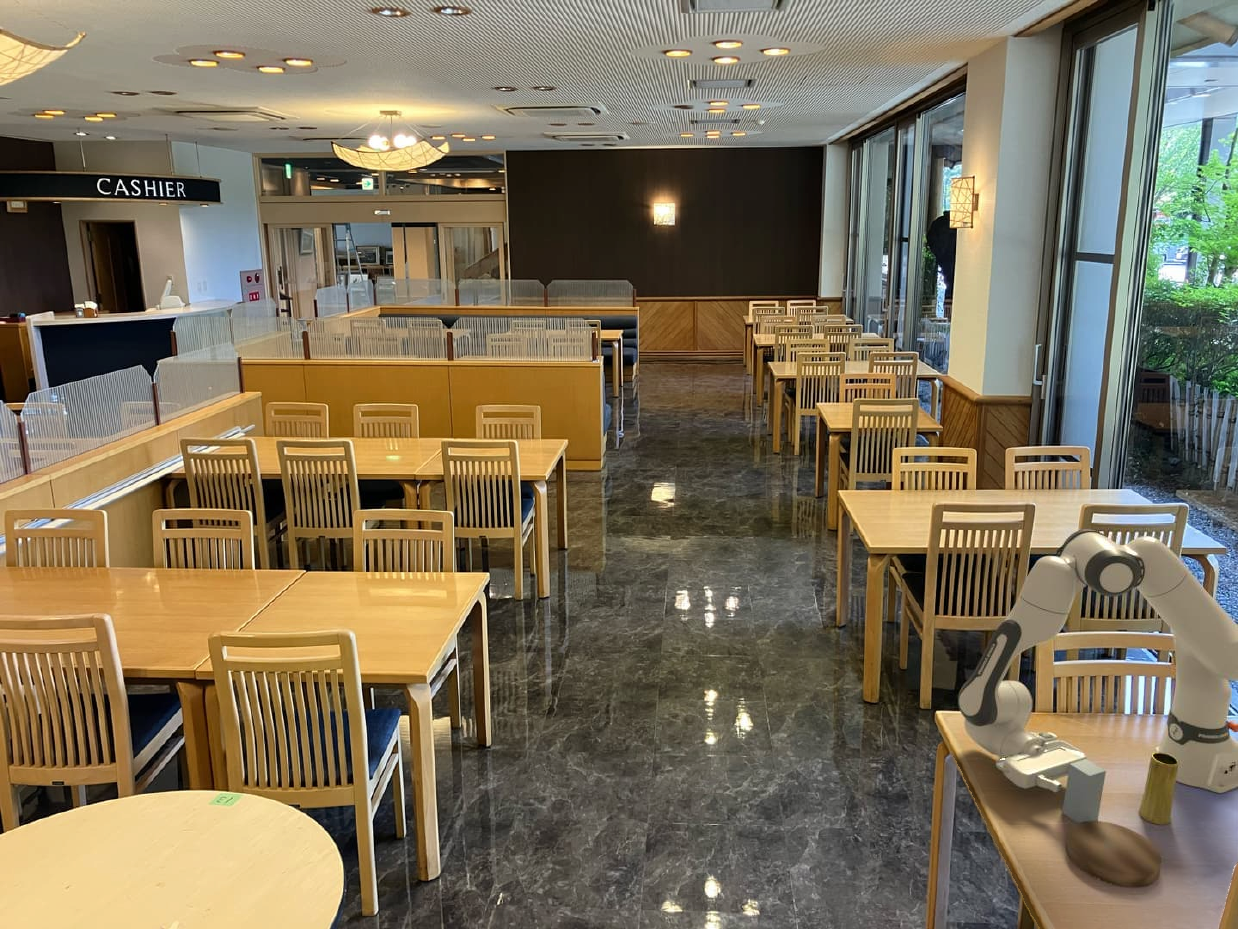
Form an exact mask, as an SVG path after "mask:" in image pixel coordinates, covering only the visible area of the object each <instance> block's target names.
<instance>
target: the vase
mask: <svg viewBox="0 0 1238 929" xmlns="http://www.w3.org/2000/svg"><path fill="white" fill-rule="evenodd" d="M1178 765H1179V761H1178V759H1177V758H1175V757H1174V756H1172V755H1170V754H1167V753H1162V752H1155V751H1154V752H1152V753H1151V756H1150V761H1149V766H1148V771H1147V776H1146V782H1145V786H1144V791H1143V795H1142V798H1141V799H1142V800H1141V804H1140V807H1139V810H1138V814H1139V815H1140V817H1141V818H1142V819H1144V820H1146V821H1147V822H1148V823H1149V822H1150V823H1152V824H1155V825H1162V826H1163V825H1168V824H1170V822H1171V816H1172V809H1173V802H1174V796H1175V795H1174V794H1175V786H1176V782H1177V781H1176V775H1177V770H1178Z"/></svg>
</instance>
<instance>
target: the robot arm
mask: <svg viewBox="0 0 1238 929" xmlns="http://www.w3.org/2000/svg"><path fill="white" fill-rule="evenodd" d="M1024 580H1025V581H1024V583H1023V584H1022V587H1021V590H1020V592H1019V595H1018V597H1017V599H1016V602H1015V604H1014V605H1013V608H1012V609H1011V610H1010V613H1009V614H1008V615H1007V617H1006V618H1004V621H1003V622H1001V624H1000V625H999V626H998V627H997V628H996V630H995V632H994V633H993V635H992V637H991V638H990V641H989V642H988V644H987V646H986V648H985V650H984V652H983V653H982V656H981V658H980V660H979V662H978V663H977V665H976V667H975V669H974V671H973V673H972V675H971V676H970V677H969V678H968V679H967V681H965V682H964V684H963V685H962V686H961V689H960V691H959V693H958V697H957V704H958V709H959V711H960V713H961V716H962V717H963V718H964V730H965V732H966V733H967V735H968V736H969V737H970V739H971V740H972V741H973V742H974V743H975V744H977V745H978V746H980V747H981V748H982V749H984V750H985V751H986V752H988V753H989V754H991V755H994V756H997V757H998V759H997V760H996V762H995V767H996V768H997V769H999V770H1000V771H1001V772H1003V775H1004V776H1005V777H1006V778H1007V779H1009V780H1010V781H1011V782H1012V783H1013V784H1014V785H1016V786H1017V787H1019V788H1021V789H1022V788H1023V789H1024V790H1025V789H1026V790H1027V789H1028V788H1032V787H1035V786H1038V787H1040V788H1043V789H1047V790H1050V791H1052V792H1054V793H1058V792H1061V791H1062V787H1063V786H1062V784H1061V782H1059V781H1057V780H1058V779H1060V778H1063V777H1066V776H1067V777H1068V773H1069V767H1070V764H1071V763H1075V762H1078V761H1081V760H1085V759H1087V760H1088V757H1087V754H1086V753H1084V752H1083V751H1082V750H1080V749H1079V748H1077V747H1076V746H1074V745H1072V744H1070V743H1068V742H1067V741H1065V740H1061V739H1058V736H1057V735H1056V734H1055V733H1052V732H1033V731H1029V732H1028V731H1027V730H1025V729H1024V728H1025V727H1026V725H1027V724H1028V721H1029V719H1030V717H1031V714H1032V711H1033V707H1034V700H1033V697H1032V694H1031V692H1030V690H1029V689H1028V687H1026V685H1025V684H1023V683H1022V682H1021V681H1018V680H1004V678H1005V676H1006V674H1007V672H1008V670H1009V669H1010V666H1011V665H1012V662H1013V661H1014V660H1015V659H1016V657H1018V656H1019V655H1020V654H1021V653H1023V652H1024V651H1026V650H1028V649H1030V648H1032V647H1034V646H1037V645H1040V644H1043V643H1046V642H1048V641H1051V640H1052V639H1054V638H1056V637H1057V636H1058V635H1059V633H1060V632H1061V630H1062V629H1063V627H1064V626H1065V624H1066V622H1067V620H1068V617H1069V614H1070V611H1071V608H1072V606H1073V602H1074V600H1075V598H1076V596H1077V595H1078V594H1079V592H1080V591H1081V590H1083V589H1084V588H1085V587H1086V586H1088V587H1089V588H1090V590H1092V591H1094V592H1096V593H1097V594H1100V595H1102V596H1106V597H1113V598H1114V597H1119V596H1121V595H1124V594H1126V593H1128V592H1130V591H1131V590H1133V589H1135V588H1136V589H1137V590H1138V591H1139V592H1140V594H1141V595H1142V596H1143V597H1144V598H1145V600H1146V601H1147V602H1148V603H1149V605H1150V606H1151V607H1152V608H1153V610H1154V611H1155V612H1156V613H1157V615H1159V617H1160V618H1161V619H1162V621H1163V622H1165V623H1166V625H1168V627H1169V628H1170V630H1171V633H1172V636H1173V637H1172V638H1173V641H1174V654H1175V656H1174V657H1175V665H1176V666H1175V667H1176V668H1175V669H1176V681H1175V690H1174V695H1173V700H1172V706H1171V708H1169V711H1168V714H1167V720H1166V725H1165V727H1164V729H1163V733H1162V736H1161V739H1160V742H1159V746H1156V747H1155V750H1154V753H1155V752H1162V753H1167V754H1170V755H1172V756H1174V757H1175V758H1177V759H1178V761H1179V765H1178V770H1177V775H1176V781H1175V782H1178V783H1180V784H1184V785H1186V786H1191V787H1196V788H1201V789H1204V790H1208V791H1211V792H1215V793H1218V794H1223V793H1225V792H1229V791H1230V790H1234V789H1236V788H1238V741H1237V740H1236V739H1235V738H1234V737H1233V736H1231V734H1230V730H1231V731H1232V732H1233V733H1238V723H1236V722H1235V721H1233V720H1230V721H1228V715H1229V709H1230V705H1231V700H1232V695H1233V694H1232V687H1231V685H1230V682H1229V681H1232V682H1233V681H1234V682H1236V681H1237V682H1238V624H1237V623H1236V621H1234V619H1233V618H1232V617H1231V616H1230V615H1229V614H1228V613H1227V611H1225V609H1224V608H1223V607H1222V606H1221V605H1220V604H1219V603H1218V602H1217V601H1216V600H1215V599H1214V597H1213V596H1212V595H1210V594H1209V592H1207V590H1206V589H1205V588H1204V587H1203V585H1202V584H1201V583H1200V581H1199V580H1198V579H1197V578H1196V577H1195V576H1194V574H1193V572H1191V571H1190V569H1189V568H1188V567H1187V565H1186V564H1185V563H1184V562H1183V560H1182V559H1180V558H1179V557H1178V555H1177V554H1176V553H1174V552H1173V550H1172V549H1170V548H1169V546H1167V545H1166V544H1165V543H1163V542H1162V541H1161V540H1159V539H1158V538H1156V537H1153V536H1150V535H1149V536H1147V535H1145V536H1139V537H1136V538H1134V539H1132V540H1130V541H1129V542H1128V543H1126V544H1118V543H1117V542H1115V541H1113V540H1112V539H1110V538H1109V537H1107V536H1106V535H1105V534H1103V533H1102V532H1100V531H1099V530H1098V531H1097V530H1094V529H1088V528H1087V529H1085V528H1084V529H1080V530H1079V529H1078V530H1077V531H1075V532H1073V533H1072V534H1070V535H1069V536H1068V537H1067V538H1066V539H1065V541H1064V542H1063V544H1062V545H1061V546H1059V548H1057V550H1056V552H1055V556H1054V555H1046V556H1043V557H1040V558H1039V559H1038V560H1036V562H1035V564H1034V565H1033V567H1032V568H1031V569H1030V571H1029V573H1028V575H1027V577H1026V579H1024Z"/></svg>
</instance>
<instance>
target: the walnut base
mask: <svg viewBox="0 0 1238 929" xmlns="http://www.w3.org/2000/svg"><path fill="white" fill-rule="evenodd" d="M1065 846H1066V849H1065V850H1066V853H1067V855H1068V857H1069V859H1070V861H1072V862H1073V863H1074V865H1076V867H1077V868H1079V869H1080V870H1082V871H1083V872H1084V871H1085V872H1084V873H1086V872H1087V873H1088V875H1089V874H1090V875H1089V876H1091V877H1093V876H1094V877H1093V878H1095V877H1096V878H1095V879H1097V878H1099V879H1100V881H1102V882H1105V883H1107V884H1110V883H1112V884H1111V885H1114V884H1115V886H1118V885H1119V887H1125V888H1144V887H1148V886H1150V885H1152V884H1154V883H1155V882H1156V881H1157V880H1158V879H1159V877H1160V873H1161V866H1162V861H1163V860H1162V859H1163V858H1162V855H1161V852H1160V851H1159V849H1158V848H1157V846H1155V845H1154V843H1152V841H1150V840H1149V839H1148V838H1146V837H1145V836H1144V835H1141V834H1140V833H1139V832H1136V831H1134V830H1132V829H1130V828H1128V827H1125V826H1122V825H1119V824H1116V823H1112V822H1106V821H1099V820H1096V821H1086V822H1081V823H1076V824H1074V825H1072V827H1071V828H1070V829H1069V830H1068V834H1067V840H1066V845H1065ZM1087 873H1086V874H1087ZM1099 879H1098V880H1099Z"/></svg>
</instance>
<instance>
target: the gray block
mask: <svg viewBox="0 0 1238 929" xmlns="http://www.w3.org/2000/svg"><path fill="white" fill-rule="evenodd" d="M1106 772H1107V770H1105V768H1104V769H1103V767H1100V766H1099V765H1097V764H1095V763H1094V762H1092V761H1090V760H1089V759H1088V758H1087V759H1085V760H1081V761H1078V762H1075V763H1071V764H1070V767H1069V773H1068V776H1067V780H1066V785H1065V786H1066V788H1065V792H1064V799H1063V807H1062V811H1061V812H1062V814H1064V816H1067V817H1068V818H1070V820H1072V821H1074V822H1075V823H1076V824H1078V823H1081V822H1086V821H1099V815H1100V814H1099V813H1100V809H1101V804H1102V802H1101V801H1102V796H1103V790H1104V785H1105V778H1106V774H1107V773H1106Z"/></svg>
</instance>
